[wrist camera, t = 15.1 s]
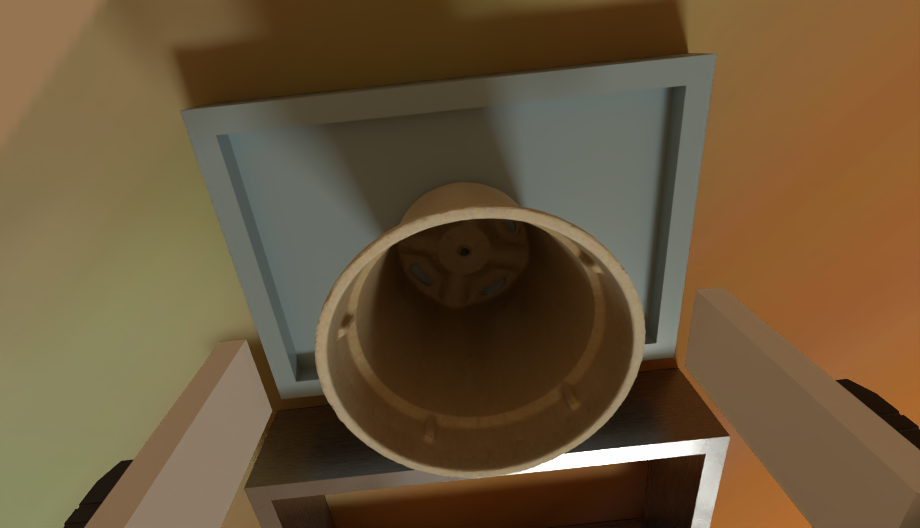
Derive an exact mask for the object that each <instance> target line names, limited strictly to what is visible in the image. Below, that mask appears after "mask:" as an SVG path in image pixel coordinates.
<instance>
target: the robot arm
mask: <svg viewBox="0 0 920 528" xmlns="http://www.w3.org/2000/svg"><path fill="white" fill-rule="evenodd" d="M685 367H686V368H687V369H688V370H689V372H690V373H691V374H692V375H693V377H694V378H695V379H696V381H697V382H698V383H699V384H700V386H701V387H702V388H703V389H704V391H705V392H706V393H707V394H708V396H709V397H710V398H711V399H712V401H713V402H714V403H715V405H716V406H717V407H718V408H719V410H720V411H721V412H722V413H723V415H724V416H725V417H726V418H727V420H728V421H729V422H730V423H731V425H732V426H733V427H734V429H735V430H736V431H737V432H738V434H739V435H740V436H741V437H742V439H743V440H744V441H745V442H746V444H747V445H748V446H749V447H750V449H751V450H752V451H753V453H754V454H755V455H756V456H757V458H758V459H759V460H760V461H761V463H762V464H763V465H764V466H765V468H766V469H767V470H768V471H769V473H770V474H771V475H772V476H773V478H774V479H775V480H776V482H777V483H778V484H779V485H780V487H781V488H782V489H783V490H784V492H785V493H786V494H787V495H788V497H789V498H790V499H791V500H792V502H793V503H794V504H795V506H796V507H797V508H798V509H799V511H800V512H801V513H802V514H803V516H804V517H805V518H806V519H807V521H808V522H809V523H810V524H811V526H812V527H813V528H920V430H919V427H918V426H917V425H916V424H915V423H913V422H912V421H911V420H910V419H908V418H907V417H906V416H904V415H900V414H899V411H898V410H897V409H895V408H894V407H893V406H892V405H890V404H889V403H888V402H886V401H885V400H884V399H883V398H881V397H880V396H879V395H877V394H876V393H874V392H872V391H870V390H868V389H866V388H864V387H862V386H860V385H858V384H856V383H854V382H852V381H850V380H848V379H842V380H834V379H833V378H832V377H831V376H829V375H828V374H827V373H826V372H825V371H823V370H822V369H821V368H820V367H819V366H817V365H816V364H815V363H814V362H812V361H811V360H810V359H809V358H808V357H806V356H805V355H804V354H803V353H802V352H800V351H799V350H798V349H797V348H796V347H794V346H793V345H792V344H791V343H789V342H788V341H787V340H786V339H785V338H783V337H782V336H781V335H780V334H779V333H777V332H776V331H775V330H774V329H773V328H771V327H770V326H769V325H768V324H766V323H765V322H764V321H763V320H762V319H760V318H759V317H758V316H757V315H756V314H754V313H753V312H752V311H751V310H750V309H748V308H747V307H746V306H745V305H743V304H742V303H741V302H740V301H739V300H737V299H736V298H735V297H734V296H733V295H731V294H730V293H729V292H728V291H726V290H725V289H724V288H723V287H717V288H708V289H699V290H696V294H695V301H694V307H693V314H692V320H691V327H690V333H689V340H688V346H687V353H686V360H685ZM271 413H272V409H271V406H270V403H269V400H268V398H267V395H266V392H265V390H264V387H263V384H262V381H261V379H260V376H259V373H258V370H257V368H256V365H255V362H254V359H253V357H252V354H251V351H250V348H249V346H248V343H247V340H246V339H243V340H234V341H225V342H219V344H218V345H217V346H216V348H215V349H214V350H213V352H212V353H211V355H210V356H209V357H208V359H207V360H206V361H205V363H204V364H203V366H202V367H201V368H200V370H199V371H198V372H197V374H196V375H195V377H194V378H193V379H192V381H191V382H190V383H189V385H188V386H187V388H186V389H185V390H184V392H183V393H182V394H181V396H180V397H179V398H178V400H177V401H176V403H175V404H174V405H173V407H172V408H171V409H170V411H169V412H168V414H167V415H166V416H165V418H164V419H163V420H162V422H161V423H160V425H159V426H158V427H157V429H156V430H155V431H154V433H153V434H152V435H151V437H150V438H149V440H148V441H147V442H146V444H145V445H144V446H143V448H142V449H141V451H140V452H139V453H138V455H137V456H136V457H135V459H134V460H125V461H121V462H119V463H118V464H117V465H116V466H115V467H114V468H112V469H111V470H110V471H109V472H108V473H106V474H105V475H104V476H103V477H102V478H101V479H99V480H98V481H97V482H96V483H95V485H94V486H93V487H92V489H91V490H90V491H89V492H88V494H87V495H86V496H85V498H84V499H83V500H82V501H81V503H80V504H79V505H80V506H79V508H78V509H75V510H74V512H73V513H72V514H71V516H70V517H69V518H68V519H67V521H66V522H65V523H64V524H65V526H64V528H221V525H222V523H223V521H224V519H225V517H226V514H227V512H228V510H229V508H230V505H231V503H232V501H233V499H234V496H235V494H236V492H237V490H238V487H239V485H240V483H241V481H242V478H243V476H244V474H245V472H246V469H247V467H248V465H249V463H250V460H251V458H252V456H253V454H254V451H255V449H256V447H257V445H258V442H259V440H260V438H261V436H262V433H263V431H264V429H265V427H266V424H267V422H268V420H269V418H270V415H271Z"/></svg>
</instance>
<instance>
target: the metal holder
mask: <svg viewBox="0 0 920 528" xmlns="http://www.w3.org/2000/svg"><path fill="white" fill-rule="evenodd" d="M729 439H730V435H729V434H728V433H727V431H726V430H725V429H724V427H723V426H722V425H721V423H720V422H719V421H718V419H717V418H716V417H715V415H714V414H713V413H712V412H711V410H710V409H709V408H708V406H707V405H706V404H705V402H704V401H703V400H702V398H701V397H700V396H699V394H698V393H697V392H696V390H695V389H694V388H693V386H692V385H691V384H690V382H689V381H688V380H687V378H686V377H685V376H684V375H683V373H682V372H681V371H680V369H679V368H675V369H666V370H656V371H647V372H638V374H637V377H636V378H635V381H634V383H633V385H632V387H631V389H630V391H629V393H628V395H627V396H626V398H625V400H624V401H623V402H622V404H621V405H620V406H619V407H618V409H617V411H616V412H615V413H614V414H613V416H612V417H611V418H610V419H609V420H608V421H607V422H606V423H605V424H604V425H603V426H602V427H601V428H599V430H597V431H596V432H595V433H594V434H593V435H591V436H590V437H589V438H588V439H586V440H585V441H584V442H582V443H581V444H579V445H578V446H576V447H575V448H573V449H571V450H570V451H568V452H566V453H564V454H563V455H561V456H559V457H558V458H556V459H554V460H550V461H549V462H546V463H543V464H541V465H538V466H536V467H535V468H530V469H528V470H524V471H521V472H515V473H511V474H521V473H530V472H539V471H548V470H558V469H567V468H576V467H586V466H595V465H604V464H613V463H623V462H632V461H641V460H650V463H649V471H648V479H647V487H646V495H645V503H644V511H643V518H637V519H628V520H619V521H610V522H600V523H591V524H582V525H572V526H563V527H554V528H709V527H710V522H711V518H712V513H713V509H714V505H715V500H716V496H717V491H718V487H719V483H720V478H721V474H722V470H723V465H724V461H725V456H726V452H727V448H728V443H729ZM511 474H506V475H511ZM501 476H502V475H501ZM474 478H483V477H471V478H462V477H450V476H441V475H437V474H433V473H427V472H424V471H419V470H414V469H411V468H409V467H407V466H405V465H403V464H400V463H397V462H395V461H393V460H391V459H389V458H387V457H385V456H383V455H381V454H380V453H378V452H377V451H375V450H374V449H372V448H371V447H369V446H368V445H366V444H365V443H364V442H363V441H362V440H360V439H359V438H358V437H356V436H355V435H354V434H353V433H352V432H351V431H350V430H349V429H348V428H347V427H346V425H345V424H344V423H343V422H342V421H341V420H340V419H339V418H338V416H337V414H336V412H335V411H334V409H333V408H332V406H331V405H330V406H321V407H311V408H302V409H293V410H283V411H278V412H277V414H276V416H275V418H274V421H273V423H272V425H271V428H270V430H269V432H268V435H267V437H266V439H265V441H264V444H263V446H262V448H261V451H260V453H259V455H258V457H257V460H256V462H255V464H254V467H253V469H252V471H251V474H250V476H249V478H248V480H247V483H246V485H245V487H244V490H245V492H246V494H247V496H248V499H249V501H250V503H251V505H252V507H253V510H254V512H255V514H256V516H257V519H258V521H259V523H260V525H261V528H335V526H334V523H333V520H332V517H331V514H330V511H329V508H328V505H327V502H326V499H325V496H324V495H326V494H335V493H344V492H353V491H363V490H372V489H381V488H391V487H400V486H409V485H418V484H428V483H437V482H446V481H456V480H465V479H474Z"/></svg>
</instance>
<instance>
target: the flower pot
mask: <svg viewBox="0 0 920 528" xmlns="http://www.w3.org/2000/svg"><path fill="white" fill-rule="evenodd" d="M503 219H510V220H512V221H513V222H514V225H515V230H514V231H511V230H510V228H509V227H508V225H507V224H503V222H504V220H503ZM462 248H467V249H469V253H468V255H461V254H460V252H461V249H462ZM413 265H419V266H420V267H421V268H422V270H423V272H424V274H425V275H426V276H427V277H428V278H429V279H430V281H431V284H430V285H427V284H426V283H425V282H423V281H421V280H420V279H419V277H417V276H416V275H415V273H414V272H413V271H412V269H411V268H412V267H413ZM501 278H503V279H504V280H505V282H504V283H503V284H502V286H501V287H500V288H499V289H497V290H495V291H494V292H492V293H487V294H482V292H481V291H482V290H484V289H486V288H488V287H489V286H491V285H493V284H494V283H496V282H497V281H499V280H500V279H501ZM645 333H646V330H645V319H644V313H643V309H642V305H641V302H640V299H639V295H638V292H637V290H636V288H635V286H634V284H633V283H632V280H631V279H630V277H629V275H628V273H627V272H626V271H625V269H624V268H623V267H622V266H621V264H620V262H619V261H618V260H617V259H616V258H615V257H614V256H613V254H612V253H611V252H610V251H609V250H608V249H607V248H606V247H605V246H604V245H603V244H602V243H600V242H599V241H598V240H597V239H596V238H595V237H593V236H592V235H591V234H589V233H588V232H586V231H584V230H583V229H581V228H580V227H578V226H576V225H574V224H572V223H570V222H568V221H566V220H564V219H562V218H560V217H557V216H555V215H552V214H549V213H546V212H543V211H540V210H536V209H532V208H528V207H522V206H519V205H518V204H517V203H516V202H515V201H514V200H513V199H512V198H510V197H509V196H508V195H506V194H505V193H504V192H502V191H500V190H498V189H496V188H493V187H490V186H487V185H483V184H478V183H470V182H457V183H451V184H447V185H444V186H441V187H438V188H436V189H433V190H431V191H429V192H428V193H426V194H424V195H423V196H422V197H420V198H419V199H418V200H417V201H416V202H415V203H414V204H413V205H412V206H411V207H410V208H409V209H408V211H407V212H406V213H405V215H404V217H403V218H402V220H401V222H400V224H399V225H398V226H396V227H394V228H392V229H390V230H389V231H387V232H385V233H384V234H382V235H381V236H379V237H378V238H377V239H375V240H374V241H373V242H371V243H370V244H369V245H367V246H366V247H365V248H364V249H363V250H362V251H361V252H360V253H359V254H358V255H356V257H355V258H354V259H353V260H352V261H351V262H350V263H349V264H348V265H347V267H346V268H345V270H344V271H343V272H342V273H341V274H340V276H339V277H338V279H337V280H336V282H335V283H334V285H333V286H332V288H331V290H330V292H329V294H328V296H327V298H326V300H325V302H324V304H323V307H322V310H321V313H320V317H319V321H318V324H317V328H316V337H315V339H316V340H315V363H316V369H317V373H318V376H319V380H320V383H321V387H322V390H323V393H324V395H325V396H326V398H327V400H328V402H329V403H330V405H331V406H332V408H333V409H334V411H335V412H336V414H337V416H338V418H339V419H340V420H341V421H342V422H343V423H344V424H345V425H346V427H347V428H348V429H349V430H350V431H351V432H352V433H353V434H354V435H355V436H356V437H358V438H359V439H360V440H362V441H363V442H364V443H365V444H366V445H368V446H369V447H371V448H372V449H374V450H375V451H377V452H378V453H380V454H381V455H383V456H385V457H387V458H389V459H391V460H393V461H395V462H397V463H400V464H403V465H405V466H407V467H409V468H411V469H414V470H419V471H424V472H427V473H433V474H437V475H441V476H450V477H462V478H471V477H495V476H501V475H506V474H511V473H515V472H521V471H524V470H528V469H530V468H535V467H536V466H538V465H541V464H543V463H546V462H549V461H550V460H554V459H556V458H558V457H559V456H561V455H563V454H564V453H566V452H568V451H570V450H571V449H573V448H575V447H576V446H578V445H579V444H581V443H582V442H584V441H585V440H586V439H588V438H589V437H590V436H591V435H593V434H594V433H595V432H596V431H597V430H599V428H601V427H602V426H603V425H604V424H605V423H606V422H607V421H608V420H609V419H610V418H611V417H612V416H613V414H614V413H615V412H616V411H617V409H618V407H619V406H620V405H621V404H622V402H623V401H624V400H625V398H626V396H627V395H628V393H629V391H630V389H631V387H632V385H633V383H634V381H635V378H636V377H637V374H638V371H639V367H640V364H641V362H642V358H643V354H644V345H645Z"/></svg>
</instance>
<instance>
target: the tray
mask: <svg viewBox="0 0 920 528" xmlns="http://www.w3.org/2000/svg"><path fill="white" fill-rule="evenodd" d="M715 61H716V54H705V53H686V54H677V55H667V56H658V57H648V58H639V59H629V60H620V61H611V62H601V63H592V64H582V65H573V66H563V67H554V68H544V69H535V70H526V71H516V72H507V73H497V74H488V75H478V76H469V77H460V78H450V79H441V80H431V81H422V82H412V83H403V84H393V85H384V86H375V87H365V88H356V89H346V90H337V91H327V92H318V93H309V94H299V95H290V96H280V97H271V98H261V99H252V100H242V101H233V102H224V103H214V104H205V105H201V106H197V107H193V108H189V109H185V110H181V111H180V112H181V114H182V117H183V120H184V123H185V126H186V129H187V132H188V134H189V137H190V140H191V143H192V146H193V149H194V152H195V154H196V157H197V160H198V163H199V166H200V169H201V172H202V174H203V177H204V180H205V183H206V186H207V189H208V192H209V194H210V197H211V200H212V203H213V206H214V209H215V212H216V214H217V217H218V220H219V223H220V226H221V229H222V232H223V234H224V237H225V240H226V243H227V246H228V249H229V252H230V254H231V257H232V260H233V263H234V266H235V269H236V272H237V274H238V277H239V280H240V283H241V286H242V289H243V292H244V294H245V297H246V300H247V303H248V306H249V309H250V312H251V314H252V317H253V320H254V323H255V326H256V329H257V332H258V334H259V337H260V340H261V343H262V346H263V349H264V352H265V354H266V357H267V360H268V363H269V366H270V369H271V372H272V374H273V377H274V380H275V383H276V386H277V389H278V392H279V394H280V397H281V399H290V398H300V397H309V396H318V395H324V393H323V390H322V387H321V383H320V380H319V376H318V373H317V369H316V363H315V340H316V339H315V337H316V328H317V324H318V321H319V317H320V313H321V310H322V307H323V304H324V302H325V300H326V298H327V296H328V294H329V292H330V290H331V288H332V286H333V285H334V283H335V282H336V280H337V279H338V277H339V276H340V274H341V273H342V272H343V271H344V270H345V268H346V267H347V265H348V264H349V263H350V262H351V261H352V260H353V259H354V258H355V257H356V255H358V254H359V253H360V252H361V251H362V250H363V249H364V248H365V247H366V246H367V245H369V244H370V243H371V242H373V241H374V240H375V239H377V238H378V237H379V236H381V235H382V234H384V233H385V232H387V231H389V230H390V229H392V228H394V227H396V226H398V225H399V224H400V222H401V220H402V218H403V217H404V215H405V213H406V212H407V211H408V209H409V208H410V207H411V206H412V205H413V204H414V203H415V202H416V201H417V200H418V199H419V198H420V197H422V196H423V195H424V194H426V193H428V192H429V191H431V190H433V189H436V188H438V187H441V186H444V185H447V184H451V183H457V182H470V183H478V184H483V185H487V186H490V187H493V188H496V189H498V190H500V191H502V192H504V193H505V194H506V195H508V196H509V197H510V198H512V199H513V200H514V201H515V202H516V203H517V204H518V205H519V206H522V207H528V208H532V209H536V210H540V211H543V212H546V213H549V214H552V215H555V216H557V217H560V218H562V219H564V220H566V221H568V222H570V223H572V224H574V225H576V226H578V227H580V228H581V229H583V230H584V231H586V232H588V233H589V234H591V235H592V236H593V237H595V238H596V239H597V240H598V241H599V242H600V243H602V244H603V245H604V246H605V247H606V248H607V249H608V250H609V251H610V252H611V253H612V254H613V256H614V257H615V258H616V259H617V260H618V261H619V262H620V264H621V266H622V267H623V268H624V269H625V271H626V272H627V273H628V275H629V277H630V279H631V280H632V283H633V284H634V286H635V288H636V290H637V292H638V295H639V299H640V302H641V305H642V309H643V313H644V319H645V330H646V333H645V345H644V354H643V358H642V361H645V360H654V359H663V358H673V357H674V355H675V347H676V340H677V333H678V326H679V319H680V312H681V304H682V297H683V290H684V283H685V276H686V269H687V261H688V254H689V247H690V240H691V233H692V226H693V218H694V211H695V204H696V197H697V190H698V183H699V175H700V168H701V161H702V154H703V147H704V140H705V132H706V125H707V118H708V111H709V104H710V97H711V89H712V82H713V75H714V68H715ZM503 220H504V222H503V224H507V225H508V227H509V228H510V230H511V231H514V230H515V225H514V222H513V221H512V220H510V219H503ZM468 253H469V249H467V248H462V249H461V252H460V254H461V255H468ZM411 269H412V271H413V272H414V273H415V275H416V276H417V277H419V279H420V280H421V281H423V282H425V283H426V284H427V285H430V284H431V281H430V279H429V278H428V277H427V276H426V275H425V274H424V272H423V270H422V268H421V267H420V266H419V265H413V267H412V268H411ZM504 282H505V280H504V279H503V278H501V279H500V280H499V281H497V282H496V283H494V284H493V285H491V286H489V287H488V288H486V289H484V290H482V291H481V292H482V294H487V293H492V292H494V291H495V290H497V289H499V288H500V287H501V286H502V284H503V283H504Z"/></svg>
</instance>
